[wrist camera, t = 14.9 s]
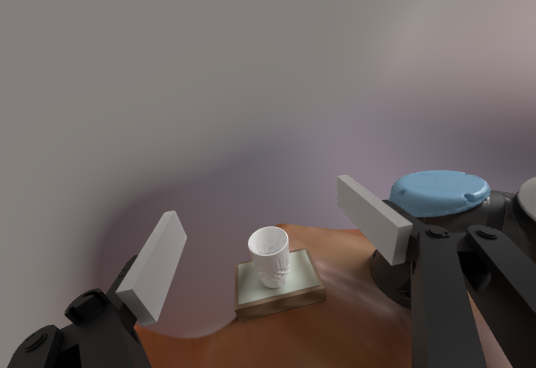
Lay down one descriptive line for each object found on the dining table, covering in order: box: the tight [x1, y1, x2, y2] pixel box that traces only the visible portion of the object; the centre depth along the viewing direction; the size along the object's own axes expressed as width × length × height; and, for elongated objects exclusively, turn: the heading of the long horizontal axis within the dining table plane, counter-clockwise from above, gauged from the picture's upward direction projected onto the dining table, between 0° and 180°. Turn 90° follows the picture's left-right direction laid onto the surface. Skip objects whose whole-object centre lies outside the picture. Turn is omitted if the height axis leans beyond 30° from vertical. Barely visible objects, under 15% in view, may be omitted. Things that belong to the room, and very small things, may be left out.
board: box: [235, 248, 326, 322], centre depth 43 cm, size 18×11×4 cm, turn 98°
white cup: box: [248, 227, 291, 288], centre depth 40 cm, size 8×8×10 cm
